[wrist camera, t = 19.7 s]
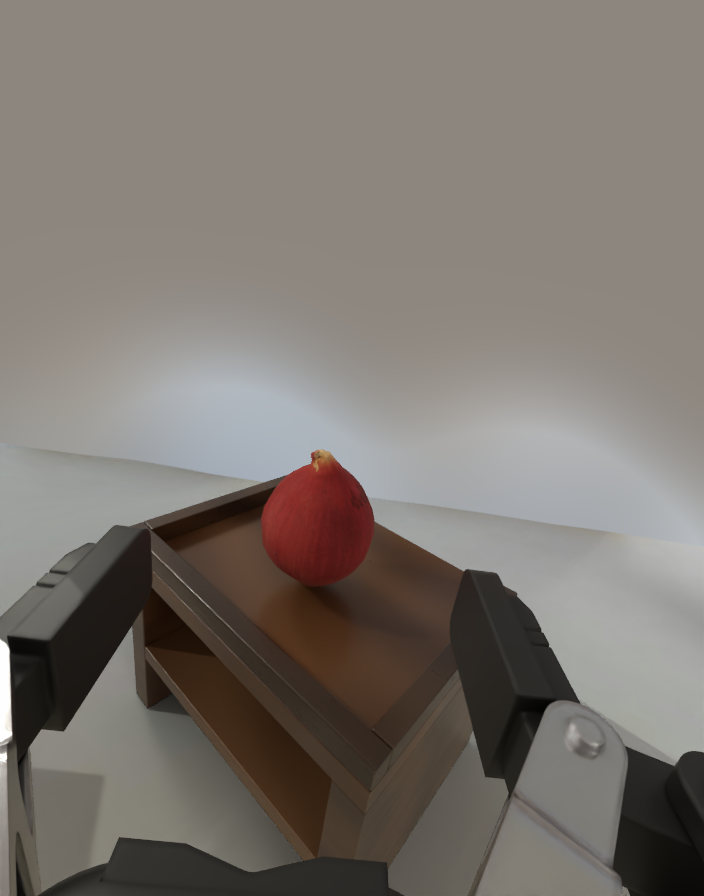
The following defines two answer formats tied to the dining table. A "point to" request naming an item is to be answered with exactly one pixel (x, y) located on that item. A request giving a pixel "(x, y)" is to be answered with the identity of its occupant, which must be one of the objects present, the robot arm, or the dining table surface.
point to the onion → (318, 523)
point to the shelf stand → (308, 674)
